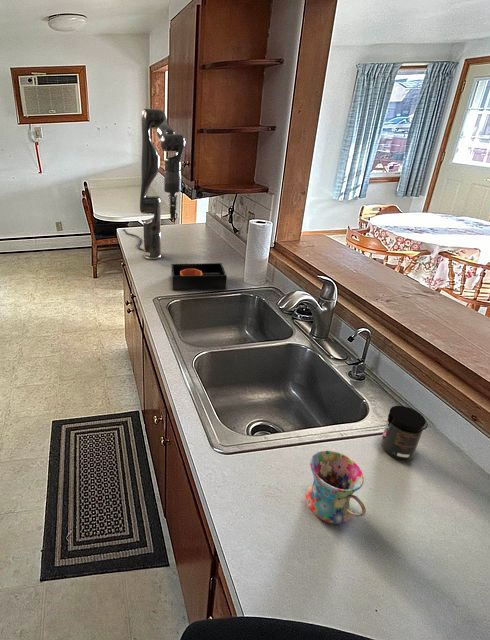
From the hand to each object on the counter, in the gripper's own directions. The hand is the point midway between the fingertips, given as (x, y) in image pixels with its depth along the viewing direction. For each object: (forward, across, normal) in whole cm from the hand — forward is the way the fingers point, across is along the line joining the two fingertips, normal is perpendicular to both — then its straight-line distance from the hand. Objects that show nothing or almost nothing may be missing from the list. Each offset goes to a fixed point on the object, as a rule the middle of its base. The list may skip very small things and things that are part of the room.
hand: (172, 215), depth 184 cm
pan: (+27, -15, -12) cm, 33 cm away
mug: (+28, -126, -27) cm, 132 cm away
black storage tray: (+28, -15, -11) cm, 34 cm away
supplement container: (+28, -110, -48) cm, 123 cm away
